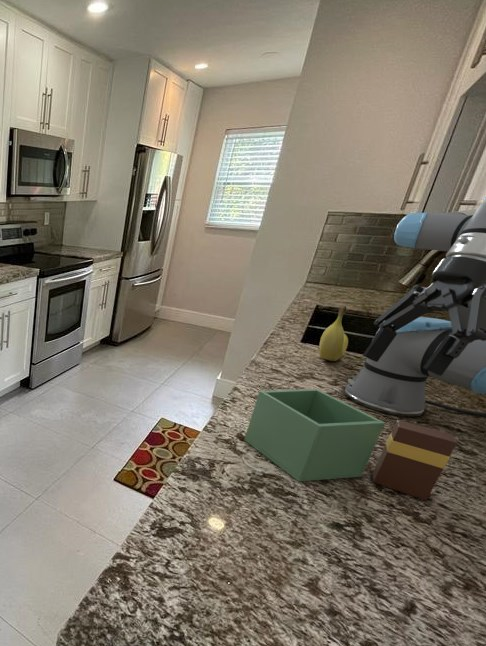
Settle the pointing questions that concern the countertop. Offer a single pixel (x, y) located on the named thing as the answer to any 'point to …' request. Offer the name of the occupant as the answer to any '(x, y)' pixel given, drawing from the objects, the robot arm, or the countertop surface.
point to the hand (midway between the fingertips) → (398, 364)
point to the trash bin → (312, 434)
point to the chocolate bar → (413, 459)
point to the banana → (334, 339)
